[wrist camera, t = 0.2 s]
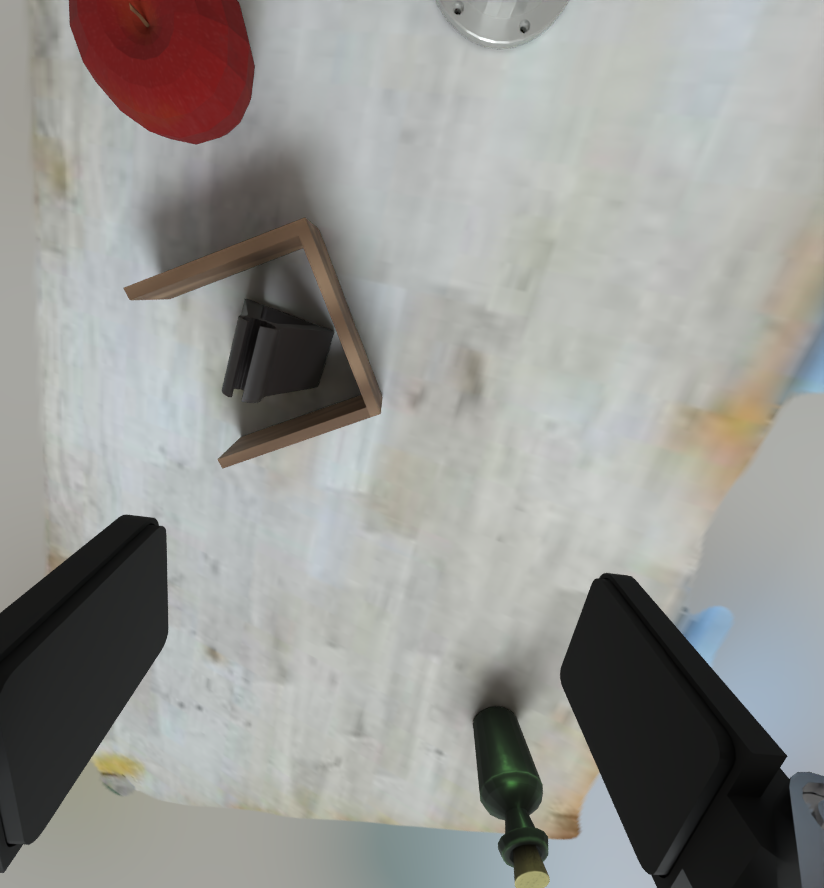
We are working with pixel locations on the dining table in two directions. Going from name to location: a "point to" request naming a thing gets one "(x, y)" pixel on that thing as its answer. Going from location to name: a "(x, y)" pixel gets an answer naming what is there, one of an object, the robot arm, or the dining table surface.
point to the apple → (169, 62)
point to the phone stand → (274, 353)
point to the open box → (313, 244)
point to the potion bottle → (511, 793)
